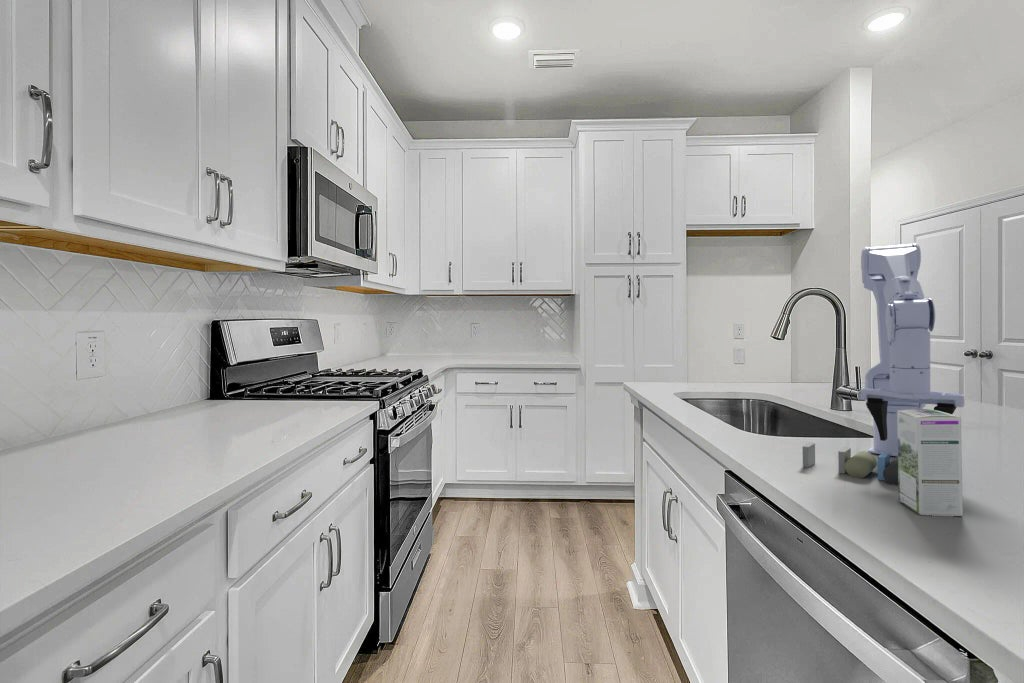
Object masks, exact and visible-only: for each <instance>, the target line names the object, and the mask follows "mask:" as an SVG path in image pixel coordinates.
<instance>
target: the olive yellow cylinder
mask: <svg viewBox="0 0 1024 683" xmlns="http://www.w3.org/2000/svg"><path fill="white" fill-rule="evenodd" d="M877 466H878V460H877V458H876V457H875V455H873V453H869V452H868V451H858V452H856V453H855V454H854V455H853V456H852V457H851V458H850V459H849V460H847V461H846V463H845V470H846V472H847V473H846V474H848V476H851V477H852V478H856V477H857V478H856V479H858V478H859V479H863V478H865V477H866V476H868V475H869V474H870V473H871V472H872V471H873V470H874V469H875V468H876V467H877Z"/></svg>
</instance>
